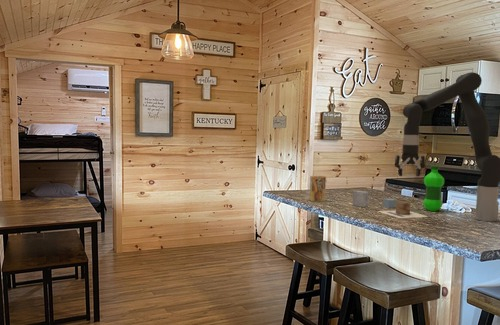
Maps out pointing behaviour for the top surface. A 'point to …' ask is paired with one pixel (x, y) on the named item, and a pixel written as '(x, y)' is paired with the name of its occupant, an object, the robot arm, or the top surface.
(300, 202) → the top surface
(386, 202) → the slate cube
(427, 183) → the plastic bottle
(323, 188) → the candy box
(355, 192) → the medicine box
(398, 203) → the walnut block
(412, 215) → the board
